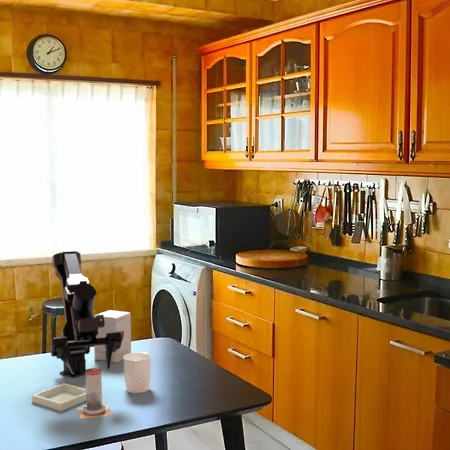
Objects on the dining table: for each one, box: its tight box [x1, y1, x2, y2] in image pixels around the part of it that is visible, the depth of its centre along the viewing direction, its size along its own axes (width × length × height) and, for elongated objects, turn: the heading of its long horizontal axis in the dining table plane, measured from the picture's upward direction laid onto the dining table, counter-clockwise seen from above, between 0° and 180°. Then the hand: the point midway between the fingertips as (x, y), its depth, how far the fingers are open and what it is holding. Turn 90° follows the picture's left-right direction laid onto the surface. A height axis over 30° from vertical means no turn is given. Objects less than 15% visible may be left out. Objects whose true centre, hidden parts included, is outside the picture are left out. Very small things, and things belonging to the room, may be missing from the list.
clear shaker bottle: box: [83, 367, 105, 416], centre depth 170 cm, size 6×6×11 cm
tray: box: [31, 382, 86, 412], centre depth 179 cm, size 11×11×2 cm
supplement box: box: [93, 309, 132, 364], centre depth 217 cm, size 9×9×15 cm
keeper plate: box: [76, 403, 113, 420], centre depth 171 cm, size 8×8×1 cm
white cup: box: [122, 351, 152, 394], centre depth 187 cm, size 8×8×10 cm
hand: (91, 371), depth 173 cm, fingers open, 9 cm apart
